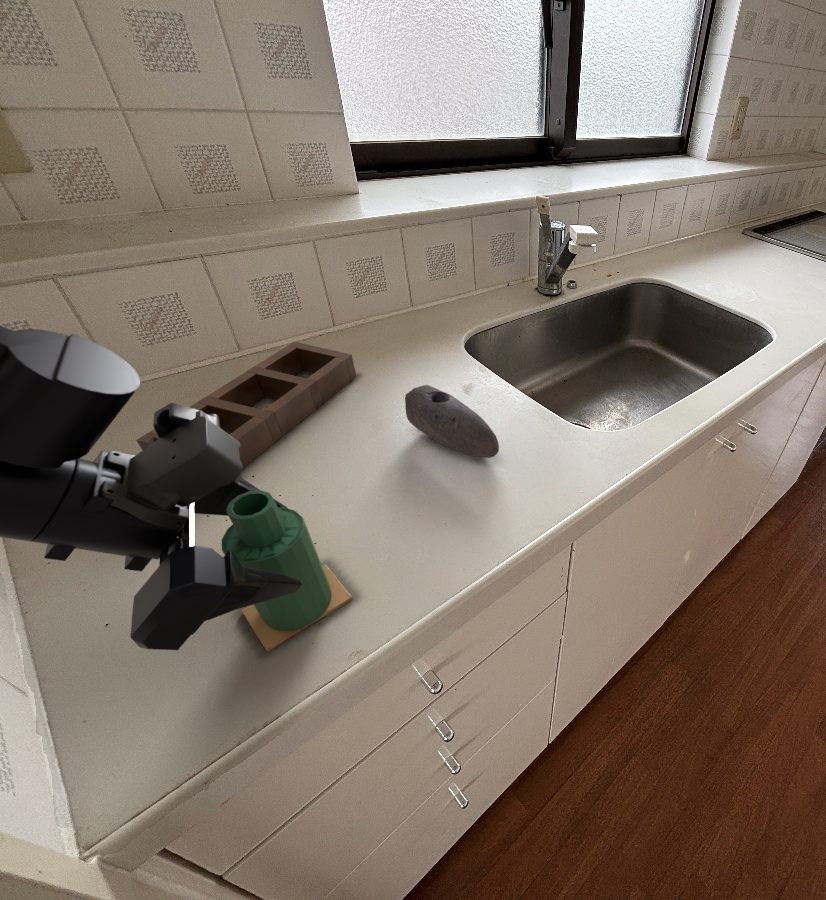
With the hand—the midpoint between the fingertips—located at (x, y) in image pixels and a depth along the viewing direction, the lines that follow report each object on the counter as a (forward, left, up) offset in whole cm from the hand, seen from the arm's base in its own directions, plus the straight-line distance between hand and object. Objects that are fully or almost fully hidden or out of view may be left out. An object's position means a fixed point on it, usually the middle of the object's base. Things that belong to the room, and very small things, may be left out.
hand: (292, 547), depth 44 cm
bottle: (-1, 0, -8) cm, 8 cm away
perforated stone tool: (+21, +18, -8) cm, 29 cm away
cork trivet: (-1, 0, -8) cm, 8 cm away
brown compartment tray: (-1, +34, -8) cm, 35 cm away
